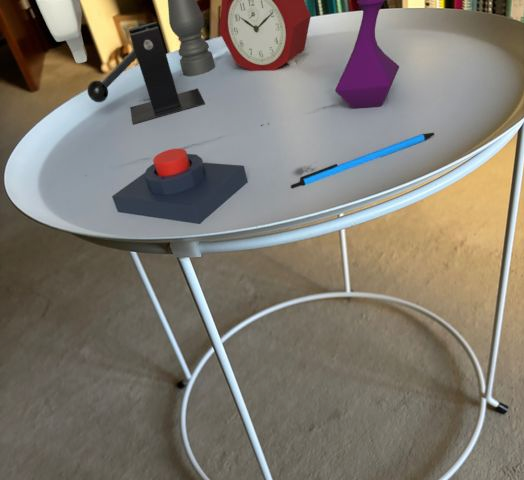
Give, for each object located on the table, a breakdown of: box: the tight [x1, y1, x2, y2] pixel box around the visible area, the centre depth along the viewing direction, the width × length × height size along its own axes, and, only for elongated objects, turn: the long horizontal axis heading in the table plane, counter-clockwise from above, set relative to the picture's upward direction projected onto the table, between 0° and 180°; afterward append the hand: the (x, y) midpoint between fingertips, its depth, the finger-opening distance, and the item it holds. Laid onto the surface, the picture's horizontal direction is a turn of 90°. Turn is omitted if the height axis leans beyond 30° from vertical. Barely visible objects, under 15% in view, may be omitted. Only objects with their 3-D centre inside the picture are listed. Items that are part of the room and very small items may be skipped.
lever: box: [86, 27, 149, 103], centre depth 92 cm, size 14×3×3 cm, turn 103°
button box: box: [111, 153, 249, 225], centre depth 71 cm, size 13×10×4 cm
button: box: [152, 148, 190, 176], centre depth 69 cm, size 4×4×2 cm
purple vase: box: [334, 0, 400, 109], centre depth 78 cm, size 8×8×18 cm
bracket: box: [128, 21, 206, 126], centre depth 94 cm, size 12×9×13 cm
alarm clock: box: [218, 0, 312, 72], centre depth 98 cm, size 15×9×20 cm, turn 58°
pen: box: [290, 132, 436, 189], centre depth 69 cm, size 1×19×1 cm, turn 112°
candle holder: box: [167, 0, 216, 77], centre depth 103 cm, size 6×6×25 cm
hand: (82, 60), depth 91 cm, fingers closed
